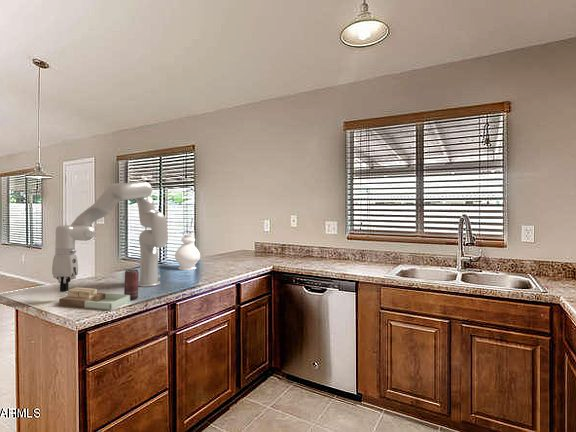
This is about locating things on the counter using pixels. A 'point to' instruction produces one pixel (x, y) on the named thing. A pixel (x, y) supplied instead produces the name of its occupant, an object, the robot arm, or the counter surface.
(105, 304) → the tray
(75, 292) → the tile
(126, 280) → the can
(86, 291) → the tile
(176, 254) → the decorative vase
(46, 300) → the counter surface
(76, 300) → the board
